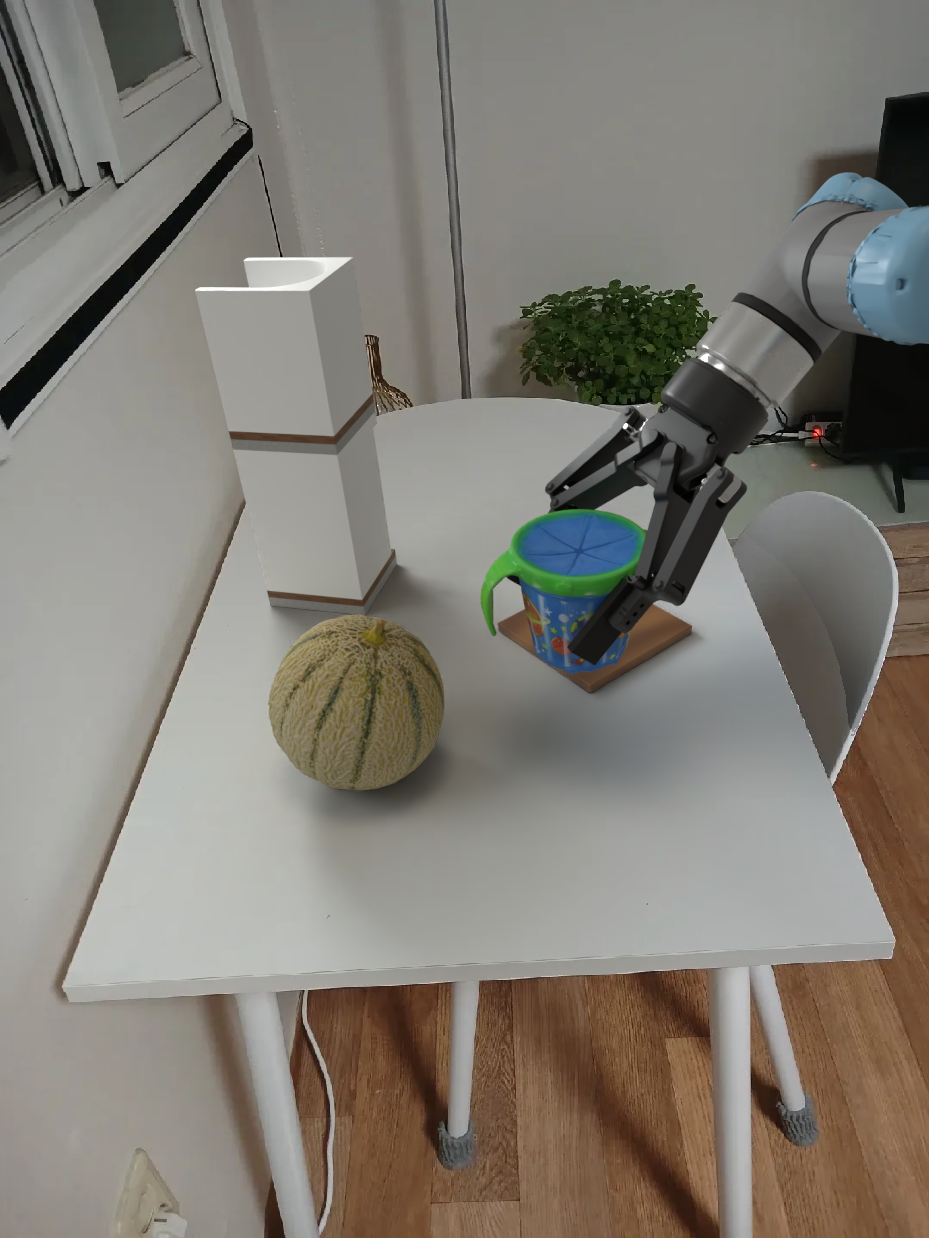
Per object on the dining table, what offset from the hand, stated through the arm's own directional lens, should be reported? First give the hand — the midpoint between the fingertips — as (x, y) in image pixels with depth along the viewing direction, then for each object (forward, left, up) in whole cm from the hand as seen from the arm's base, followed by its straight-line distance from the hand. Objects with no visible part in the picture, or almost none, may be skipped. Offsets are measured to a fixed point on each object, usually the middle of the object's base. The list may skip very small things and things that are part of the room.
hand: (546, 617), depth 75 cm
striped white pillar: (+38, -1, -15) cm, 41 cm away
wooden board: (+11, -16, -15) cm, 25 cm away
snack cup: (-1, -3, -4) cm, 5 cm away
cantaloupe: (+10, +12, -15) cm, 22 cm away
